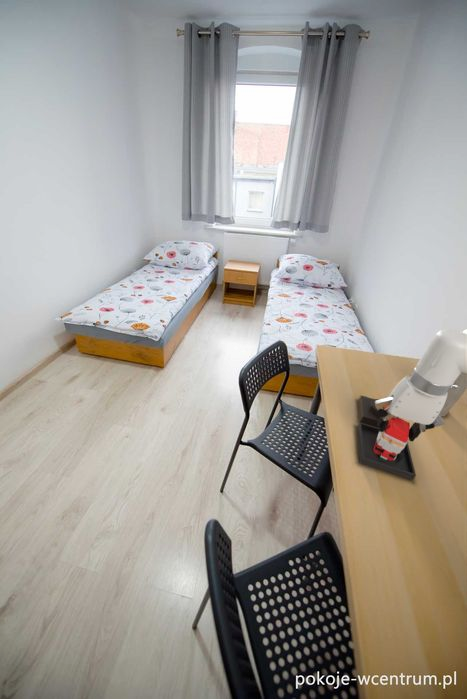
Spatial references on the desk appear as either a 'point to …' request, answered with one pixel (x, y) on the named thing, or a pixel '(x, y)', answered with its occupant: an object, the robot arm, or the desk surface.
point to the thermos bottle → (454, 394)
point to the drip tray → (371, 459)
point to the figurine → (392, 439)
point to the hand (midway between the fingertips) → (395, 432)
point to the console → (368, 411)
